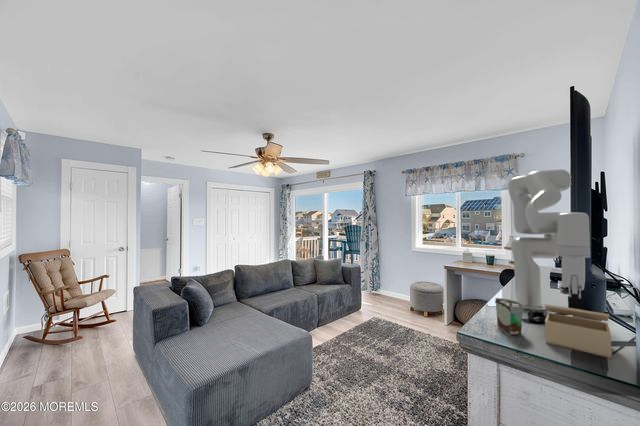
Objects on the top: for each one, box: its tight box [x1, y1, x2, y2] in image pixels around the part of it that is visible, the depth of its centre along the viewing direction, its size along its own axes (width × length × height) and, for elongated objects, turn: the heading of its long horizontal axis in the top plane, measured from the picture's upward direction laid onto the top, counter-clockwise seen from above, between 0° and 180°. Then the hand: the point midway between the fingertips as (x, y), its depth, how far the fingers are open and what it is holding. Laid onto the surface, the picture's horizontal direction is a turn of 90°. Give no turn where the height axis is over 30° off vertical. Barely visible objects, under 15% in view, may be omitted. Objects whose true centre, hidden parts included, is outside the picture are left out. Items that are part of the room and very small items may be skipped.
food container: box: [494, 297, 526, 337], centre depth 93 cm, size 12×6×10 cm, turn 168°
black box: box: [522, 309, 546, 325], centre depth 103 cm, size 12×7×5 cm, turn 82°
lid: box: [544, 304, 610, 322], centre depth 84 cm, size 11×14×1 cm
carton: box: [544, 312, 613, 359], centre depth 83 cm, size 11×14×7 cm
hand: (575, 310), depth 84 cm, fingers closed
